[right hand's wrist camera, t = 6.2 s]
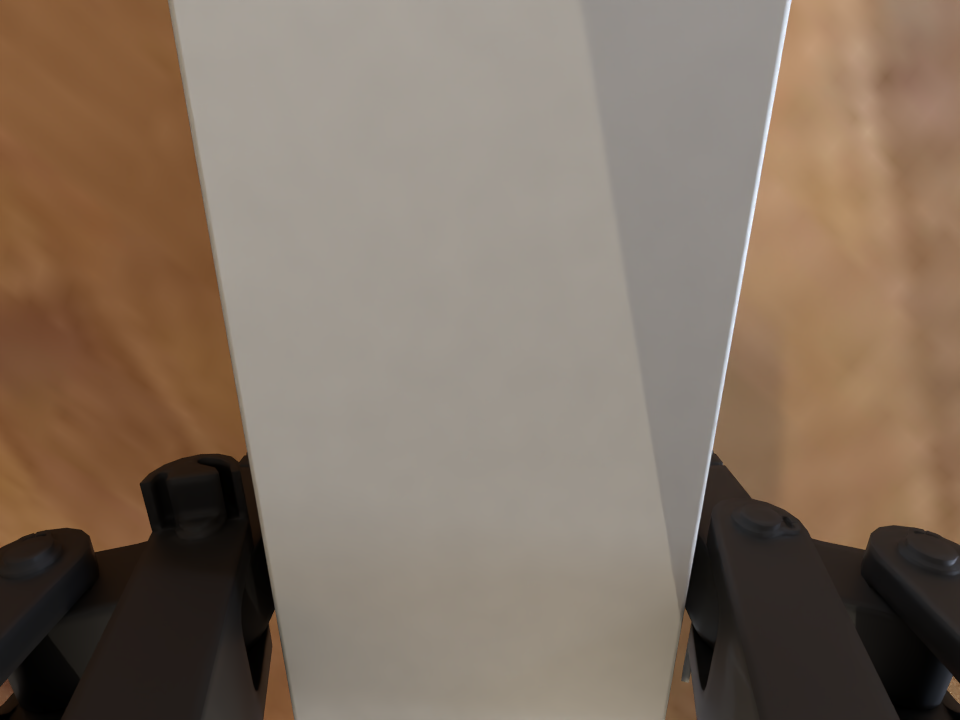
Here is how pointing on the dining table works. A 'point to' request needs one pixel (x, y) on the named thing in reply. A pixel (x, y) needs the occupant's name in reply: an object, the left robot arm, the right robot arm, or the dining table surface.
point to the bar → (479, 329)
